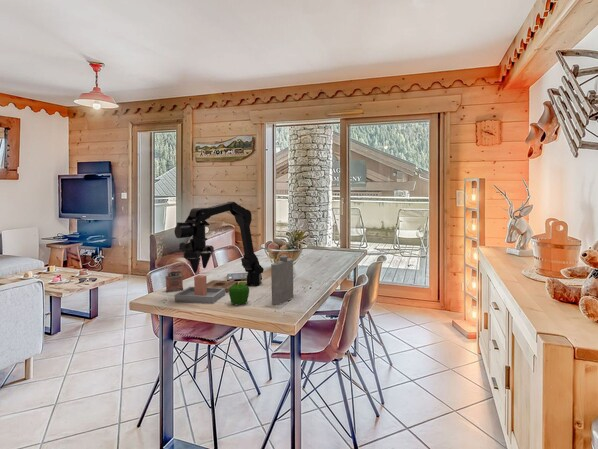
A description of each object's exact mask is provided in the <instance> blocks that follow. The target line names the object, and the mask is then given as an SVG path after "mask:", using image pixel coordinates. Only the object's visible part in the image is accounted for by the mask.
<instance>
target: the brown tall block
mask: <svg viewBox="0 0 598 449" xmlns="http://www.w3.org/2000/svg"><path fill="white" fill-rule="evenodd" d="M193 281H194V283H193V284H194V285H193V287H195V295H198V296H206V295H207V283H208V282H207V275H206V274H205V275H204V274H203V275H195V277H194V278H193Z"/></svg>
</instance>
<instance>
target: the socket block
mask: <svg viewBox="0 0 598 449" xmlns="http://www.w3.org/2000/svg"><path fill="white" fill-rule="evenodd" d="M238 283H239V281H238V280H237V281H236V280H218V279H217V280H216V279H212V280H210V281H209V282H207V287H209V288H225V294H226V293H228V294H229V288H230V287H232V285H234V284H236V285H238Z"/></svg>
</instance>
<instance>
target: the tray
mask: <svg viewBox="0 0 598 449" xmlns="http://www.w3.org/2000/svg"><path fill="white" fill-rule="evenodd" d="M225 295H226V293H225V288H209V287H207V295H206V296H198V295H195V287H194V286H188V287H187V288H185V289H183V290H182V291H178V292H177V293H176V294H175V295H174V302H175V303H192V304H211V305H212V304H216V303H217V301H219V300H220V299H221V298H223V297H224V296H225Z"/></svg>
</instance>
